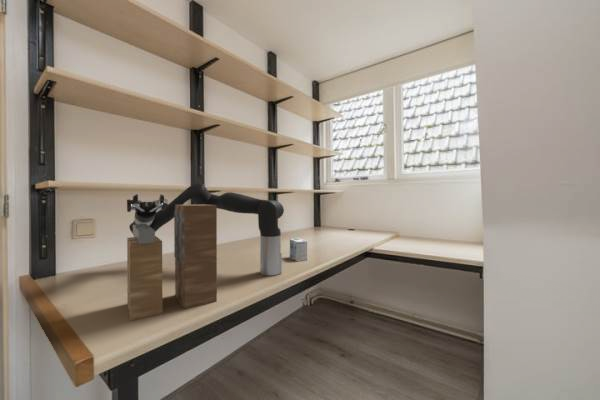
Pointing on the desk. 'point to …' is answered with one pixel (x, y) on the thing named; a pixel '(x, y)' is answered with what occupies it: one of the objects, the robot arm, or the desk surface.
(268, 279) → the desk surface
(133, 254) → the oak step
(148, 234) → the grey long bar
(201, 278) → the tall brown wooden block
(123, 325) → the desk surface
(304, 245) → the light bulb box
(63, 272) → the desk surface
